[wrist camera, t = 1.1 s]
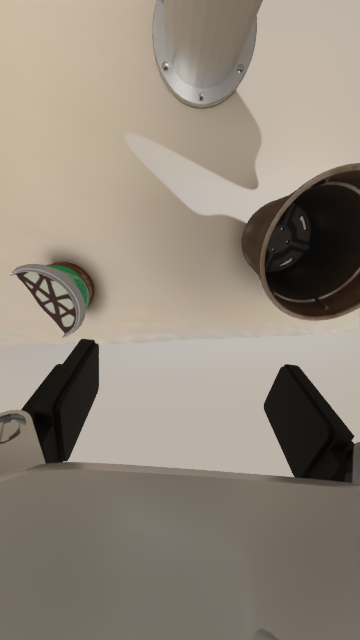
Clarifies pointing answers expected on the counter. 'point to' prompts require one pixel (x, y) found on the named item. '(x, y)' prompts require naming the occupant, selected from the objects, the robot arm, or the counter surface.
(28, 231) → the counter surface
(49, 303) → the food container
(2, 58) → the counter surface
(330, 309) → the plant pot
